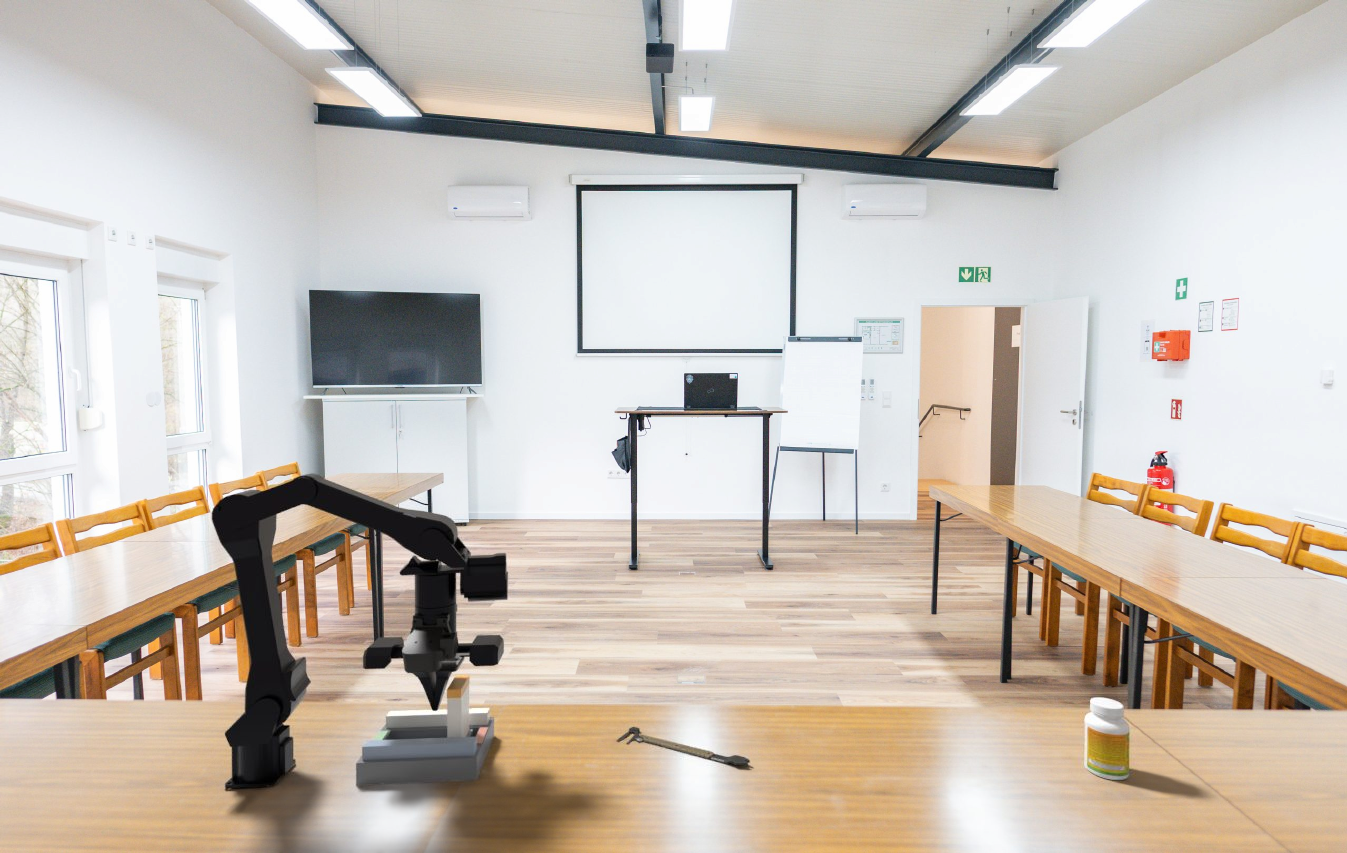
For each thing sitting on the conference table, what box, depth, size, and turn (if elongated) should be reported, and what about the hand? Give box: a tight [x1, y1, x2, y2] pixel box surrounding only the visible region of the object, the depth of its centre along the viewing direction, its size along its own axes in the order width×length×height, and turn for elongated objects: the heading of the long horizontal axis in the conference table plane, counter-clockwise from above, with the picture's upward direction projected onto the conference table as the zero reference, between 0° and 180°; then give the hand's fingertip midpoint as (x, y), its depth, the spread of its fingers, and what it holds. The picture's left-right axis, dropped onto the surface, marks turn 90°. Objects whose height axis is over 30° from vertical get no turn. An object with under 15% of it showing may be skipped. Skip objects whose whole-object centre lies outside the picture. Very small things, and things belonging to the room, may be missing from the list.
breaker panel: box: [355, 707, 495, 786], centre depth 99 cm, size 16×13×5 cm
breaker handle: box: [446, 674, 473, 738], centre depth 99 cm, size 3×5×9 cm, turn 5°
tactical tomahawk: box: [615, 726, 751, 766], centre depth 100 cm, size 21×7×1 cm, turn 59°
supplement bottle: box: [1083, 696, 1131, 781], centre depth 96 cm, size 5×5×10 cm
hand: (435, 709), depth 99 cm, fingers closed
